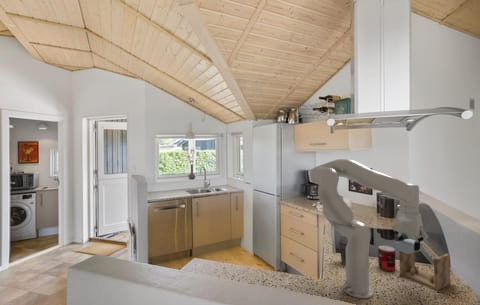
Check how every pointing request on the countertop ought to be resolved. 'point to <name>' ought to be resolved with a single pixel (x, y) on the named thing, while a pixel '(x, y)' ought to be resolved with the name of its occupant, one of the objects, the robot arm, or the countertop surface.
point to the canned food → (386, 258)
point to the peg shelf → (434, 282)
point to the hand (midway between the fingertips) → (409, 247)
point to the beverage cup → (343, 248)
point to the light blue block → (407, 246)
